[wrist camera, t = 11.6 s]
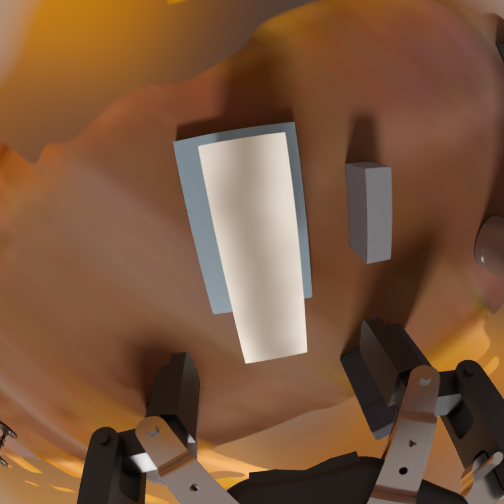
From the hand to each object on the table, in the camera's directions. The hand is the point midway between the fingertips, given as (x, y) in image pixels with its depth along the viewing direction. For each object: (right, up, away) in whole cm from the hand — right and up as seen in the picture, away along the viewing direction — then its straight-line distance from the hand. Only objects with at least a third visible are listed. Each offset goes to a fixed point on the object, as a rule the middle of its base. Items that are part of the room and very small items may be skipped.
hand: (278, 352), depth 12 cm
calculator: (+18, -10, +28) cm, 35 cm away
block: (+11, +10, +19) cm, 24 cm away
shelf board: (-1, +4, +11) cm, 12 cm away
